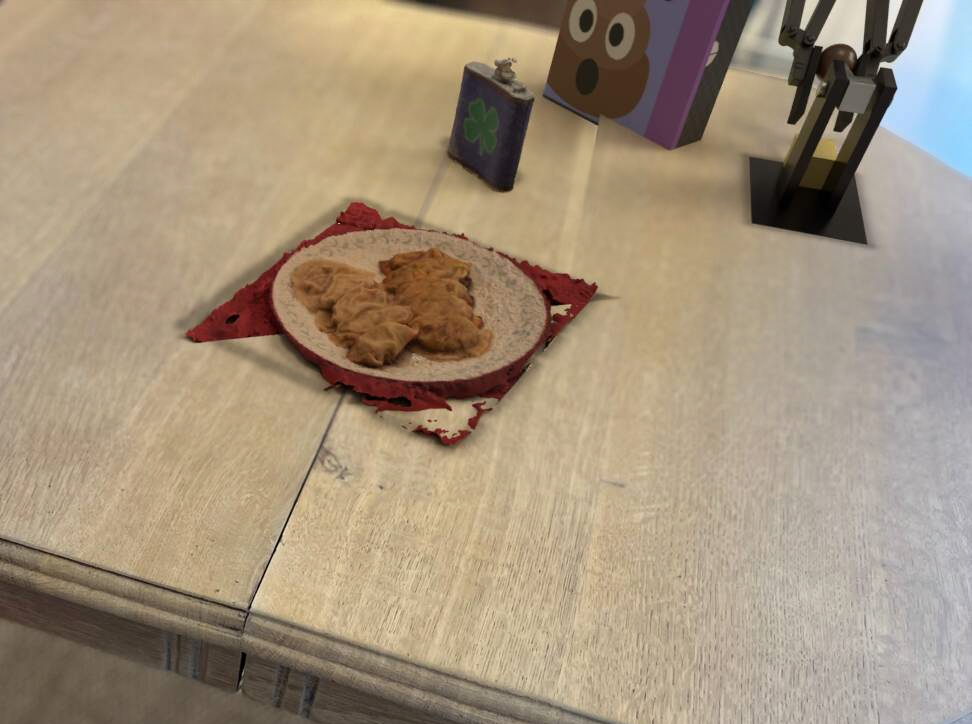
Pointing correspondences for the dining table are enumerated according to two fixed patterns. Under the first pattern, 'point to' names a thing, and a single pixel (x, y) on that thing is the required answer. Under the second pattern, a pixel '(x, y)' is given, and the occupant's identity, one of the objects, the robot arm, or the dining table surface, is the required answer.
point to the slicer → (838, 198)
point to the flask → (491, 123)
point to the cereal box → (646, 63)
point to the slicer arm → (856, 87)
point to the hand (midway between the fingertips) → (818, 122)
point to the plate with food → (404, 312)
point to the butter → (817, 163)
